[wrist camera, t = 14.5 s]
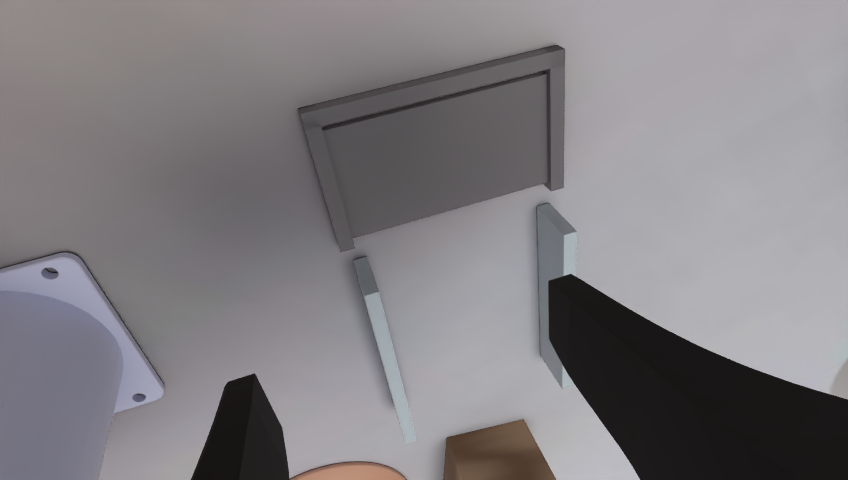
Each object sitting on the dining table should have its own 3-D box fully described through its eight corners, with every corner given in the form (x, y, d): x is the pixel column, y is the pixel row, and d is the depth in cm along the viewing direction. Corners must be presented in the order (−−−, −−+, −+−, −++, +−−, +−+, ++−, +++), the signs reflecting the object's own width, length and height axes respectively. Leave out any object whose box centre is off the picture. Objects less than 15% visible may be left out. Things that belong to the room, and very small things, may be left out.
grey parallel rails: (393, 405, 29) (405, 444, 27) (353, 260, 23) (364, 296, 21) (550, 352, 30) (572, 385, 28) (549, 203, 24) (576, 231, 22)
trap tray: (338, 244, 22) (340, 252, 22) (298, 108, 19) (299, 114, 18) (557, 181, 24) (563, 187, 23) (557, 44, 20) (565, 48, 20)
